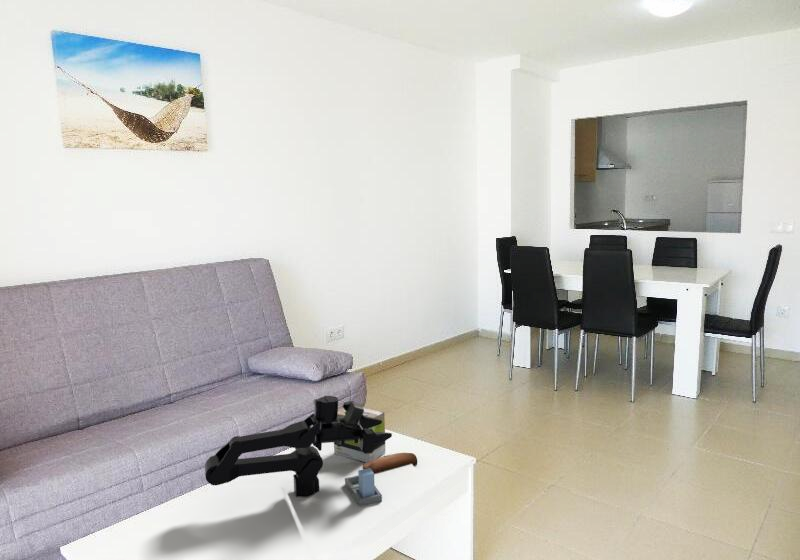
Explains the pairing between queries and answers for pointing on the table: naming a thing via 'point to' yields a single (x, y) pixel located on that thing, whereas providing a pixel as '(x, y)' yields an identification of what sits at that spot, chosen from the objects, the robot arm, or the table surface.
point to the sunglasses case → (391, 462)
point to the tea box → (353, 448)
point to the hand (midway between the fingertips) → (386, 428)
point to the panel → (355, 492)
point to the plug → (366, 483)
